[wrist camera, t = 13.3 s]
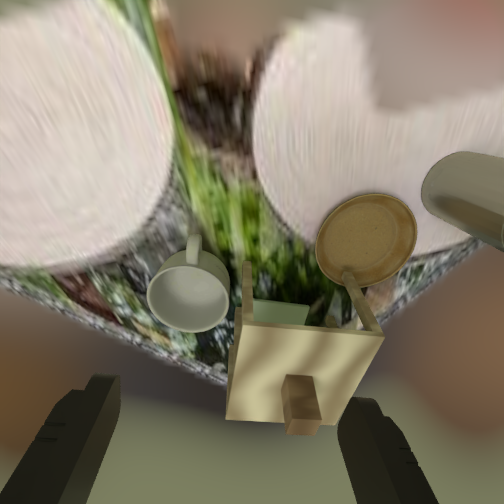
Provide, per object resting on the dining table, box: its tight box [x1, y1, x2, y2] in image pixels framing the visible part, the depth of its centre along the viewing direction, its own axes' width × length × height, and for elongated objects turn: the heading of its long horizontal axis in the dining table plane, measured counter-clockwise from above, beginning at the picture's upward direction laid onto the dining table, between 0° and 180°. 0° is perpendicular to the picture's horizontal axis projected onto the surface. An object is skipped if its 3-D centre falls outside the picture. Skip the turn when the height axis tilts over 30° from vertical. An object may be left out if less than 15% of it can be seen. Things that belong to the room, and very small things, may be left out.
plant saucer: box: [315, 194, 417, 288], centre depth 43 cm, size 15×15×3 cm
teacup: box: [147, 234, 230, 332], centre depth 41 cm, size 14×11×8 cm
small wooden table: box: [226, 261, 385, 436], centre depth 41 cm, size 16×19×18 cm
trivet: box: [253, 298, 310, 326], centre depth 51 cm, size 10×10×1 cm
